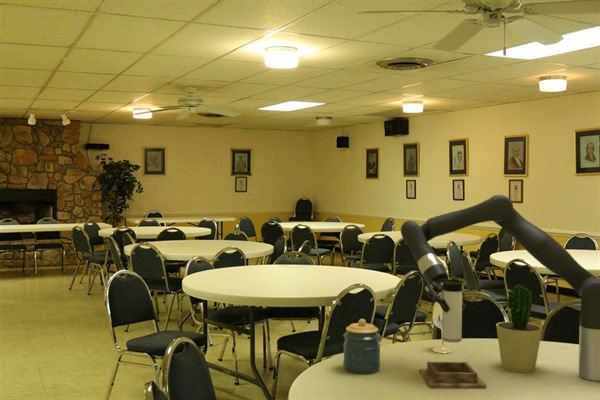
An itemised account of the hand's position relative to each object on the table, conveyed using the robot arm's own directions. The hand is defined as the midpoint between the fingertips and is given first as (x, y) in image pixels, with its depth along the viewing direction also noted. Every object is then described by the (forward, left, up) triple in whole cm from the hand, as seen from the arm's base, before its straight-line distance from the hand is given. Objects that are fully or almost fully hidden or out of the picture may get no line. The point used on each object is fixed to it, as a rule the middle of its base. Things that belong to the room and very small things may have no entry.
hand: (455, 310), depth 208 cm
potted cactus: (-6, -30, -24) cm, 39 cm away
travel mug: (+2, -1, -11) cm, 11 cm away
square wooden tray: (+2, 0, -24) cm, 24 cm away
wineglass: (+25, -29, -24) cm, 45 cm away
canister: (+30, +13, -24) cm, 40 cm away
